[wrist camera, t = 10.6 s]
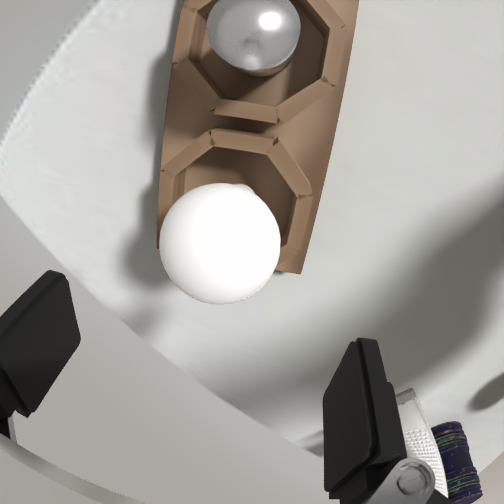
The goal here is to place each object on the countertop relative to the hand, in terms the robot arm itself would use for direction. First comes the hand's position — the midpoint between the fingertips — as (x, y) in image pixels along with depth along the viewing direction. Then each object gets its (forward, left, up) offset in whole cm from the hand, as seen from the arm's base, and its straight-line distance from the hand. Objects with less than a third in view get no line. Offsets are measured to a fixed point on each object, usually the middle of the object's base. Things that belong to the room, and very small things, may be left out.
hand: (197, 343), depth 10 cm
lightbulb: (0, 0, -16) cm, 16 cm away
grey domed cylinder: (+1, -11, -15) cm, 19 cm away
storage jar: (-38, +35, -18) cm, 55 cm away
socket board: (+1, -5, -17) cm, 18 cm away
